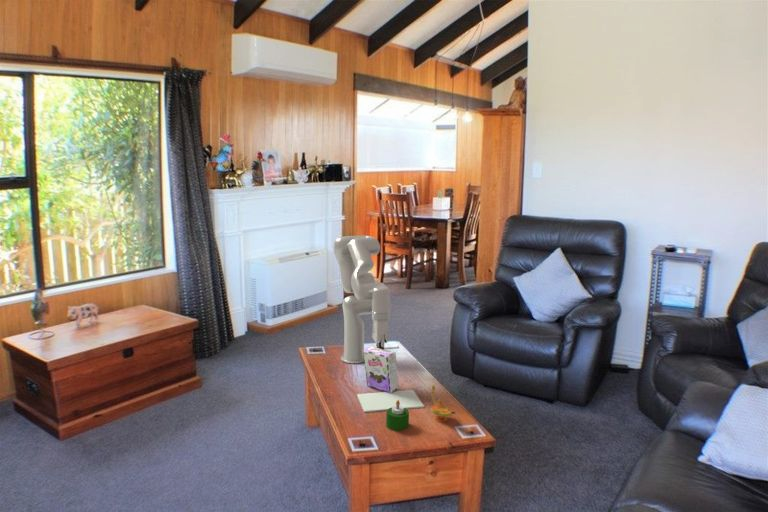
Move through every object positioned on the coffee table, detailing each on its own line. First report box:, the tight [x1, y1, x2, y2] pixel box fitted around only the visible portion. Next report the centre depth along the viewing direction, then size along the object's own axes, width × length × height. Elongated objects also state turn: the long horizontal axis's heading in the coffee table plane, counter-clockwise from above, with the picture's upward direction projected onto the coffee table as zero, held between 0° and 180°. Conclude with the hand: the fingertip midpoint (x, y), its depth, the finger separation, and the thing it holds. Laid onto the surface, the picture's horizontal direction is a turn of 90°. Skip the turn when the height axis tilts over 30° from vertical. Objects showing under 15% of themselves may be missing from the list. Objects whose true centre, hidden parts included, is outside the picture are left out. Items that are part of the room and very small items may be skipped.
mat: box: [356, 389, 425, 413], centre depth 236 cm, size 16×24×1 cm, turn 103°
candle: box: [385, 400, 410, 432], centre depth 214 cm, size 8×8×10 cm
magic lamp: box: [430, 385, 457, 423], centre depth 219 cm, size 7×18×11 cm, turn 24°
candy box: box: [363, 346, 400, 393], centre depth 246 cm, size 14×6×16 cm, turn 47°
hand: (380, 356), depth 252 cm, fingers closed
